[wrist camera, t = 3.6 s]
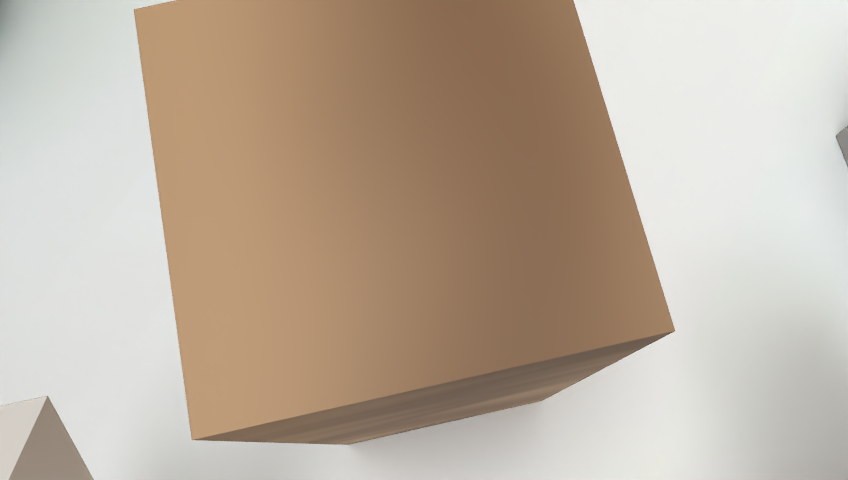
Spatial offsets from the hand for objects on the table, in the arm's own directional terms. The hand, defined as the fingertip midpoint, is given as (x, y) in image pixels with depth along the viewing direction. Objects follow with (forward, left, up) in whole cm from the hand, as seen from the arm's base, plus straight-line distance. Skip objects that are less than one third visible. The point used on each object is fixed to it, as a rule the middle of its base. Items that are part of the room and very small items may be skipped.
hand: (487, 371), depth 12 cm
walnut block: (-2, 0, -8) cm, 8 cm away
